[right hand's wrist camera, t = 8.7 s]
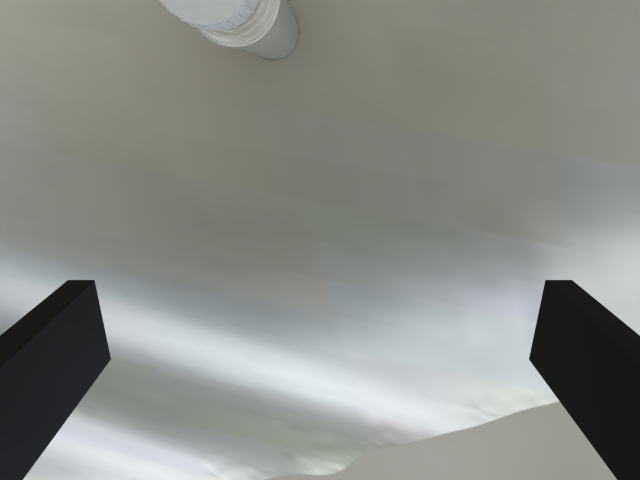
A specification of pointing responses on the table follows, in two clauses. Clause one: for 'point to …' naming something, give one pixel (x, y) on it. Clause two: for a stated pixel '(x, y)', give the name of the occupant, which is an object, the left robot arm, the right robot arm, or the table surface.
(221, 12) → the cap
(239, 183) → the table surface
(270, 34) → the bottle
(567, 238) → the table surface
